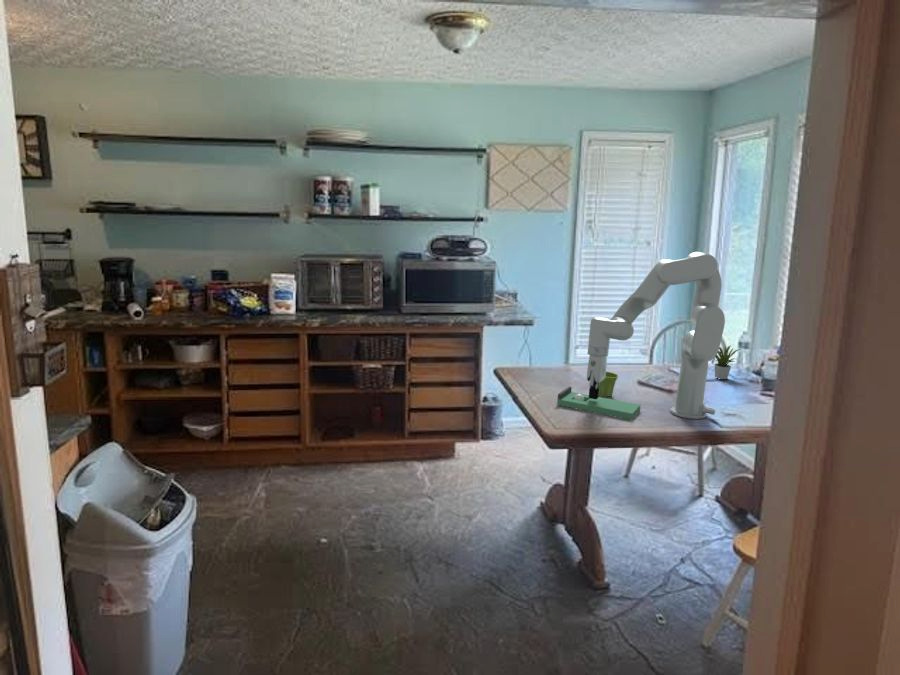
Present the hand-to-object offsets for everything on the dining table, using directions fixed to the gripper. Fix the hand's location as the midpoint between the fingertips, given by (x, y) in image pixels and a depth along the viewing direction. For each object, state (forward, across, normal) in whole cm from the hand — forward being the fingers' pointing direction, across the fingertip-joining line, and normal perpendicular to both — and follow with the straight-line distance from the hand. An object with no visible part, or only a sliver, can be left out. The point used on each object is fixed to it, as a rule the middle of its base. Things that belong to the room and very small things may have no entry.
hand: (593, 398), depth 245 cm
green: (+3, 0, -2) cm, 4 cm away
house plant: (+3, +82, -38) cm, 90 cm away
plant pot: (+4, +19, +1) cm, 19 cm away
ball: (+2, 0, +5) cm, 6 cm away
